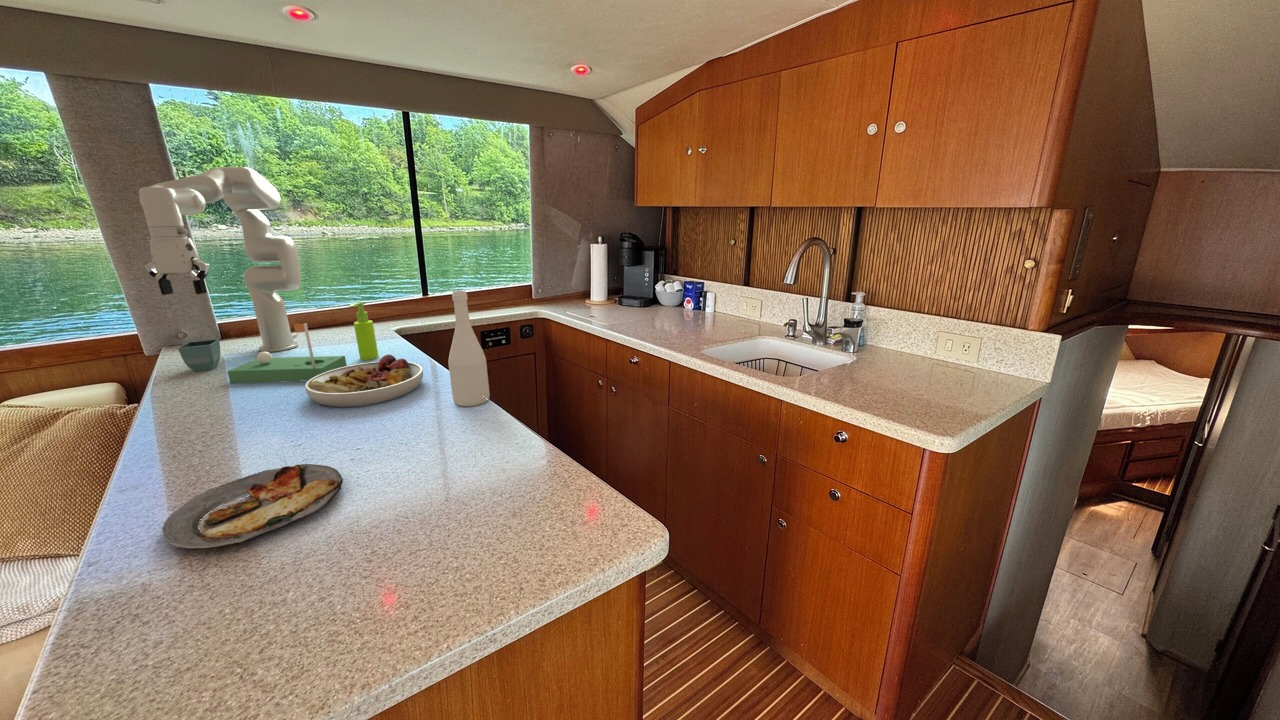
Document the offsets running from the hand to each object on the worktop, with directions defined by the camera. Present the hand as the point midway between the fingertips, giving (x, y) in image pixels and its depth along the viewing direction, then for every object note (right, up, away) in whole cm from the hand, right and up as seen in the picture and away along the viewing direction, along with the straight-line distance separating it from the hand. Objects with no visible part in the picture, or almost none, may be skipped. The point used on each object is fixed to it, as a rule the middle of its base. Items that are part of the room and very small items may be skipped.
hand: (184, 293), depth 145 cm
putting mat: (+20, -24, +15) cm, 35 cm away
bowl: (+54, -29, 0) cm, 61 cm away
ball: (+13, -19, +13) cm, 27 cm away
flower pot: (-14, -23, +23) cm, 35 cm away
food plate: (+67, -46, -58) cm, 100 cm away
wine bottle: (+87, -31, -9) cm, 93 cm away
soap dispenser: (+35, -19, +34) cm, 52 cm away
